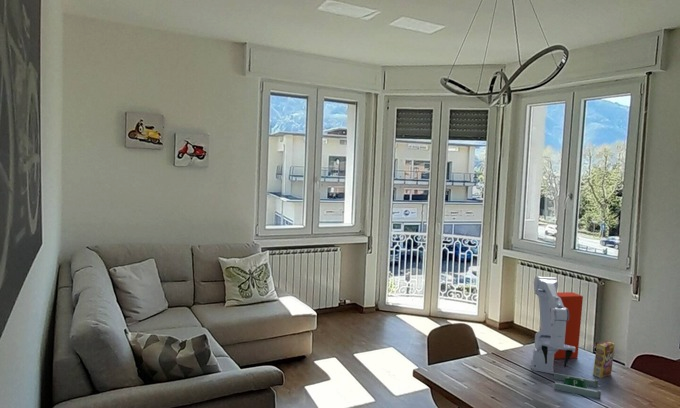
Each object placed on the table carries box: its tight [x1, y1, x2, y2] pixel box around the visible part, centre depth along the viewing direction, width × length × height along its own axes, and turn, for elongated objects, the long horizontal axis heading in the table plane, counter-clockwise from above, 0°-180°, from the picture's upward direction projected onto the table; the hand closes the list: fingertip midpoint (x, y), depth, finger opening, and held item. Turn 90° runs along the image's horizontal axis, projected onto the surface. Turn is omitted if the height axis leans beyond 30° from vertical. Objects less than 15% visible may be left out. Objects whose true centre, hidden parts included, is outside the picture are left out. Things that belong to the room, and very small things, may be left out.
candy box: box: [592, 340, 616, 379], centre depth 226 cm, size 9×4×15 cm, turn 123°
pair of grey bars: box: [553, 371, 602, 399], centre depth 212 cm, size 18×12×3 cm
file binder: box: [539, 291, 584, 360], centre depth 247 cm, size 8×17×32 cm, turn 103°
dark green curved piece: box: [563, 376, 588, 389], centre depth 212 cm, size 9×4×6 cm
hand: (555, 364), depth 215 cm, fingers open, 7 cm apart
